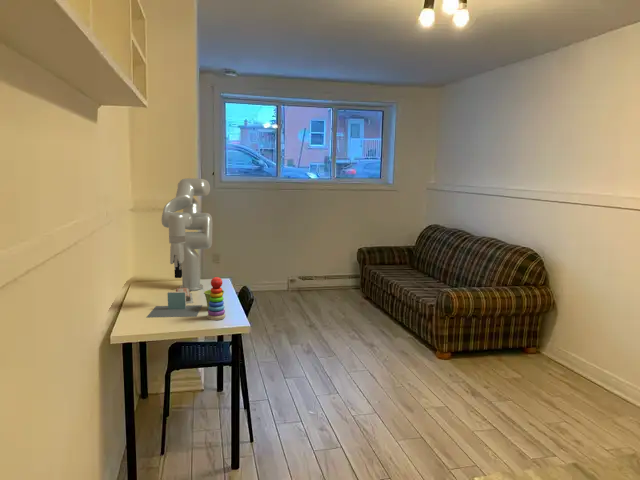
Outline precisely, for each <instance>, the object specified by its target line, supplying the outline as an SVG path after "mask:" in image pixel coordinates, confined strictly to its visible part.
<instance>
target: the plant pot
mask: <svg viewBox="0 0 640 480" xmlns="http://www.w3.org/2000/svg"><path fill="white" fill-rule="evenodd" d="M210 293H211V289H207V290H204V291H203V294H204V297H205V300H206V305H207V311H208V310H209V309H208V307H209V302H210V297H211V296H210ZM222 293H223V294H224V293H225V291H224V290H223V289H222ZM222 297H223V298H224V295H223V296H222Z"/></svg>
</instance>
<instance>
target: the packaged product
mask: <svg viewBox="0 0 640 480" xmlns="http://www.w3.org/2000/svg"><path fill="white" fill-rule="evenodd" d="M175 292H186V305H187V304H194V300H193V293H191V291H189V289H188V288H180V287H178V288H175Z"/></svg>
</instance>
